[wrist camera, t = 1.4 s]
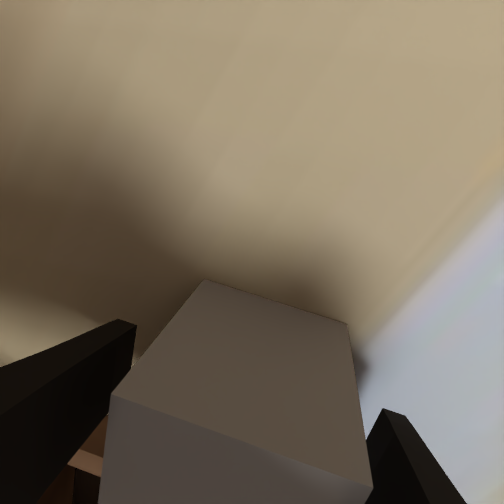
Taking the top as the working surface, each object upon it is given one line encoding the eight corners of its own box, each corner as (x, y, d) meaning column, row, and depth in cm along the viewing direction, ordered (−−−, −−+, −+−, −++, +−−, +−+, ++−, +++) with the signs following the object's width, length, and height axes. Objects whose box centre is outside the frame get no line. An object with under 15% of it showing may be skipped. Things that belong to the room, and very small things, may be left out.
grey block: (180, 388, 12) (92, 549, 7) (204, 278, 10) (111, 394, 6) (302, 430, 11) (291, 630, 7) (347, 322, 10) (372, 488, 5)
